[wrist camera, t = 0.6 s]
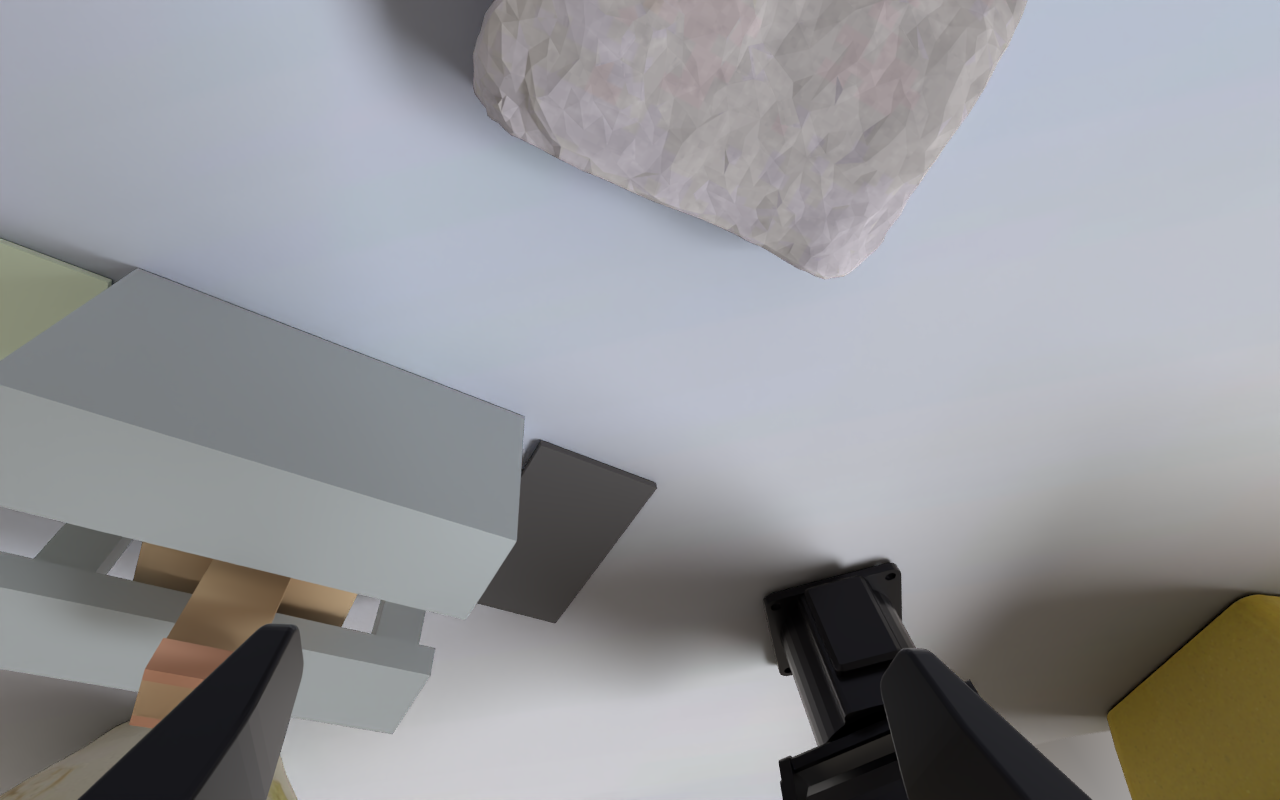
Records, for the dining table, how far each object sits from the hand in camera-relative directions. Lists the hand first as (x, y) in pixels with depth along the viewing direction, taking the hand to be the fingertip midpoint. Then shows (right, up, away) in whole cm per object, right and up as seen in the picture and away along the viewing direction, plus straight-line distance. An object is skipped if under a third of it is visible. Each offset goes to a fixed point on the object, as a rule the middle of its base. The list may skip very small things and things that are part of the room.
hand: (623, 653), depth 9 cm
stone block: (+3, +14, +7) cm, 16 cm away
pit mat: (-3, -2, +16) cm, 17 cm away
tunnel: (-12, +1, +13) cm, 17 cm away
